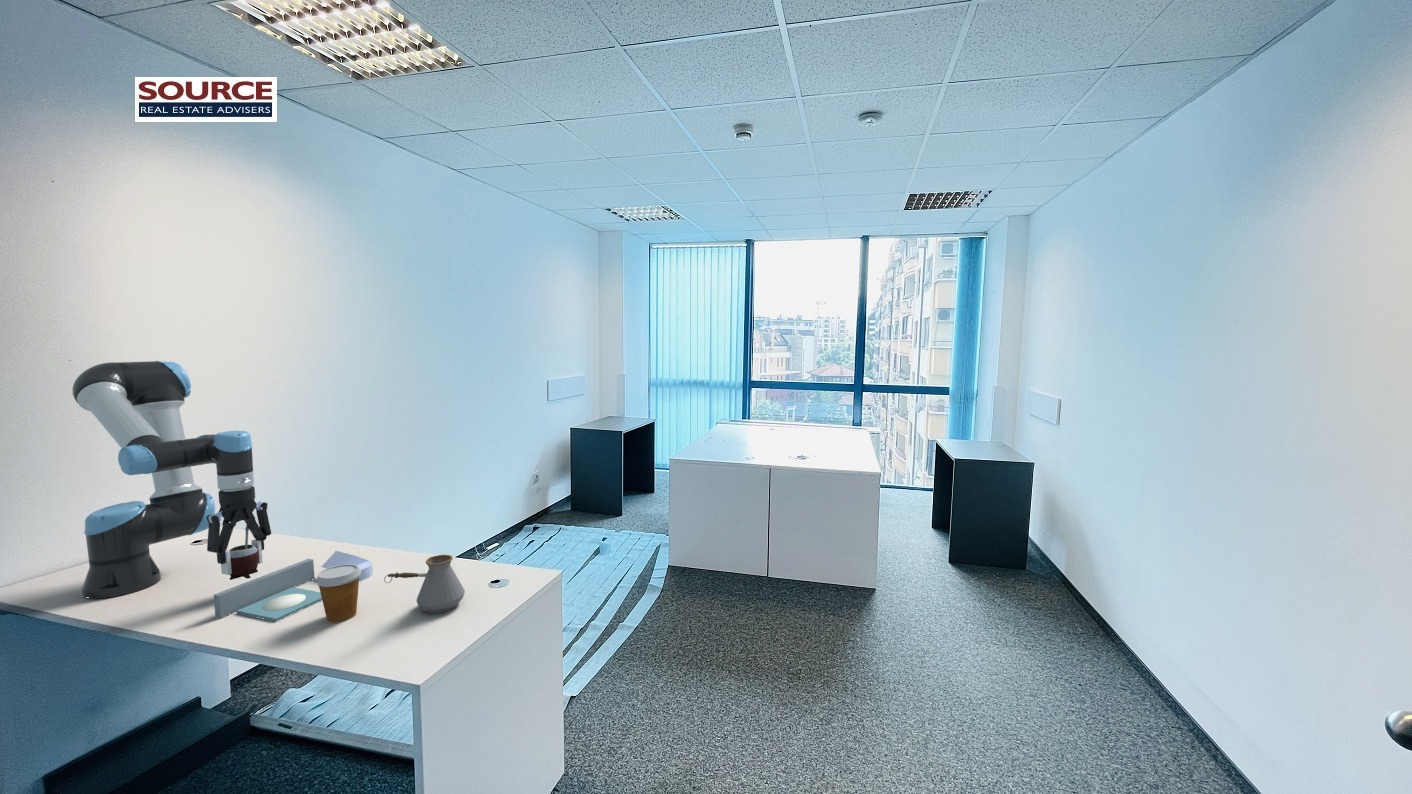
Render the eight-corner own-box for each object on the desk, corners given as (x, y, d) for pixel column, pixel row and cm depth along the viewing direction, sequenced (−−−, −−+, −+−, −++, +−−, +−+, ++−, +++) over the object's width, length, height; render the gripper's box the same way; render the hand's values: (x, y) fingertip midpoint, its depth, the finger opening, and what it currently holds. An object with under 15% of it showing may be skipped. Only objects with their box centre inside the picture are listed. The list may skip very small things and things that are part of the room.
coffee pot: (441, 593, 150) (439, 541, 148) (474, 599, 146) (472, 546, 145) (371, 631, 130) (368, 571, 128) (408, 640, 126) (404, 578, 125)
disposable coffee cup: (329, 629, 131) (326, 582, 129) (311, 619, 136) (308, 573, 134) (371, 613, 139) (368, 568, 137) (352, 603, 144) (349, 560, 143)
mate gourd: (233, 583, 145) (229, 529, 143) (221, 576, 149) (216, 524, 147) (266, 573, 152) (263, 521, 150) (254, 566, 155) (250, 516, 154)
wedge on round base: (321, 577, 160) (349, 586, 154) (320, 556, 159) (347, 563, 154) (352, 566, 168) (379, 573, 162) (351, 545, 167) (378, 552, 162)
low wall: (215, 617, 136) (213, 594, 136) (309, 578, 159) (308, 558, 159) (220, 618, 136) (218, 595, 135) (314, 579, 159) (313, 559, 158)
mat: (237, 613, 138) (236, 610, 138) (292, 589, 152) (292, 586, 152) (276, 621, 134) (275, 618, 134) (330, 596, 148) (329, 593, 148)
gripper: (202, 499, 137) (209, 585, 139) (284, 480, 156) (289, 556, 158) (182, 496, 139) (190, 581, 141) (265, 477, 158) (271, 552, 160)
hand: (242, 567), depth 150 cm, fingers closed on mate gourd, 7 cm apart
